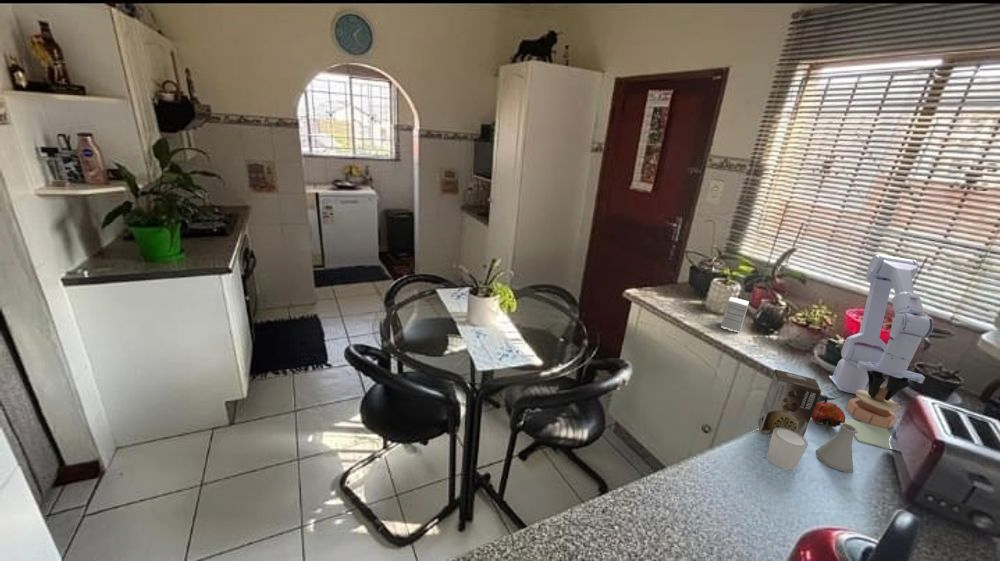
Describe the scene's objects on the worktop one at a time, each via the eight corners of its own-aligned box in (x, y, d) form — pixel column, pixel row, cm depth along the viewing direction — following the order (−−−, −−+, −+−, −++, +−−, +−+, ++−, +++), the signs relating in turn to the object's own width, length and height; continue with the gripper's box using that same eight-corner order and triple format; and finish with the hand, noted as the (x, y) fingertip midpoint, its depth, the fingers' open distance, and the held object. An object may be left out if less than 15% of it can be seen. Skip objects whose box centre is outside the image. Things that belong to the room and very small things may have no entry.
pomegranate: (840, 443, 110) (842, 409, 115) (847, 432, 105) (849, 397, 109) (806, 433, 114) (809, 401, 119) (811, 422, 109) (814, 389, 114)
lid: (849, 388, 123) (855, 375, 122) (887, 397, 121) (893, 384, 119) (864, 405, 115) (870, 391, 113) (905, 415, 112) (912, 401, 111)
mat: (841, 418, 117) (841, 417, 117) (885, 429, 114) (886, 428, 114) (857, 441, 108) (858, 439, 107) (906, 454, 105) (907, 452, 104)
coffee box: (795, 431, 109) (816, 379, 103) (800, 446, 103) (823, 391, 98) (756, 419, 112) (774, 368, 107) (759, 433, 106) (779, 379, 101)
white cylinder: (792, 456, 99) (802, 432, 97) (802, 476, 93) (813, 451, 91) (760, 447, 101) (769, 423, 99) (768, 466, 95) (778, 441, 92)
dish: (841, 402, 125) (845, 394, 124) (880, 412, 122) (884, 404, 121) (856, 421, 116) (860, 412, 115) (899, 432, 113) (903, 423, 112)
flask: (859, 476, 95) (876, 440, 92) (825, 468, 96) (840, 433, 93) (841, 454, 102) (856, 421, 99) (809, 448, 103) (823, 414, 100)
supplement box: (722, 323, 179) (730, 296, 175) (741, 328, 175) (750, 301, 171) (719, 328, 173) (727, 300, 169) (739, 333, 169) (748, 305, 165)
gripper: (873, 354, 111) (854, 397, 116) (939, 368, 107) (917, 412, 112) (861, 343, 118) (843, 384, 122) (923, 356, 114) (903, 398, 118)
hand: (878, 397), depth 117 cm, fingers closed on lid, 3 cm apart
